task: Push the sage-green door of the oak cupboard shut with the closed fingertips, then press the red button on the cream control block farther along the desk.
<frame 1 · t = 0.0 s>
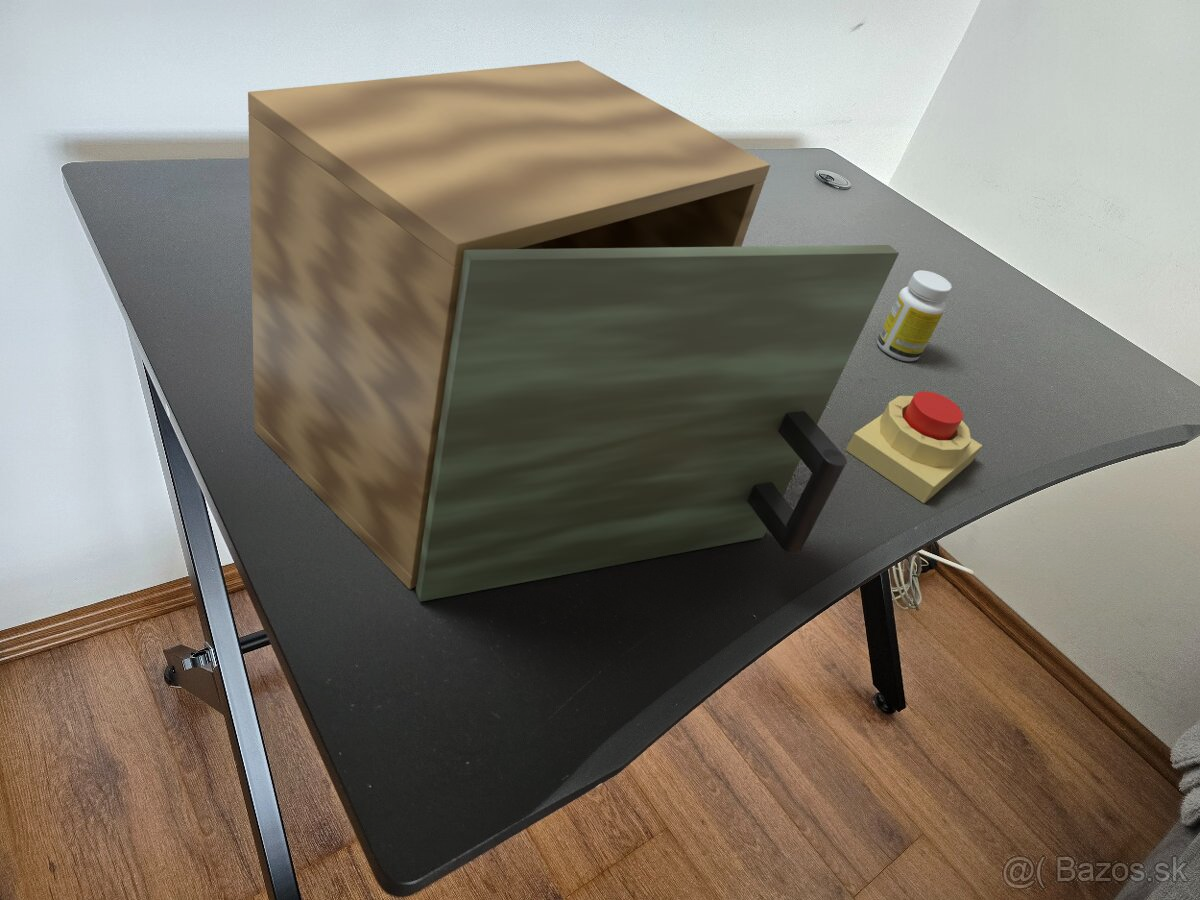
door: (668, 456, 54), point 12 cm above the table, hinge at 22.0°
button block: (909, 456, 81), on the table
cupboard: (476, 439, 70), on the table
supplement bottle: (896, 351, 96), on the table
book: (657, 310, 92), on the table
button: (933, 416, 79), point 5 cm above the table, slide at 0.1 cm
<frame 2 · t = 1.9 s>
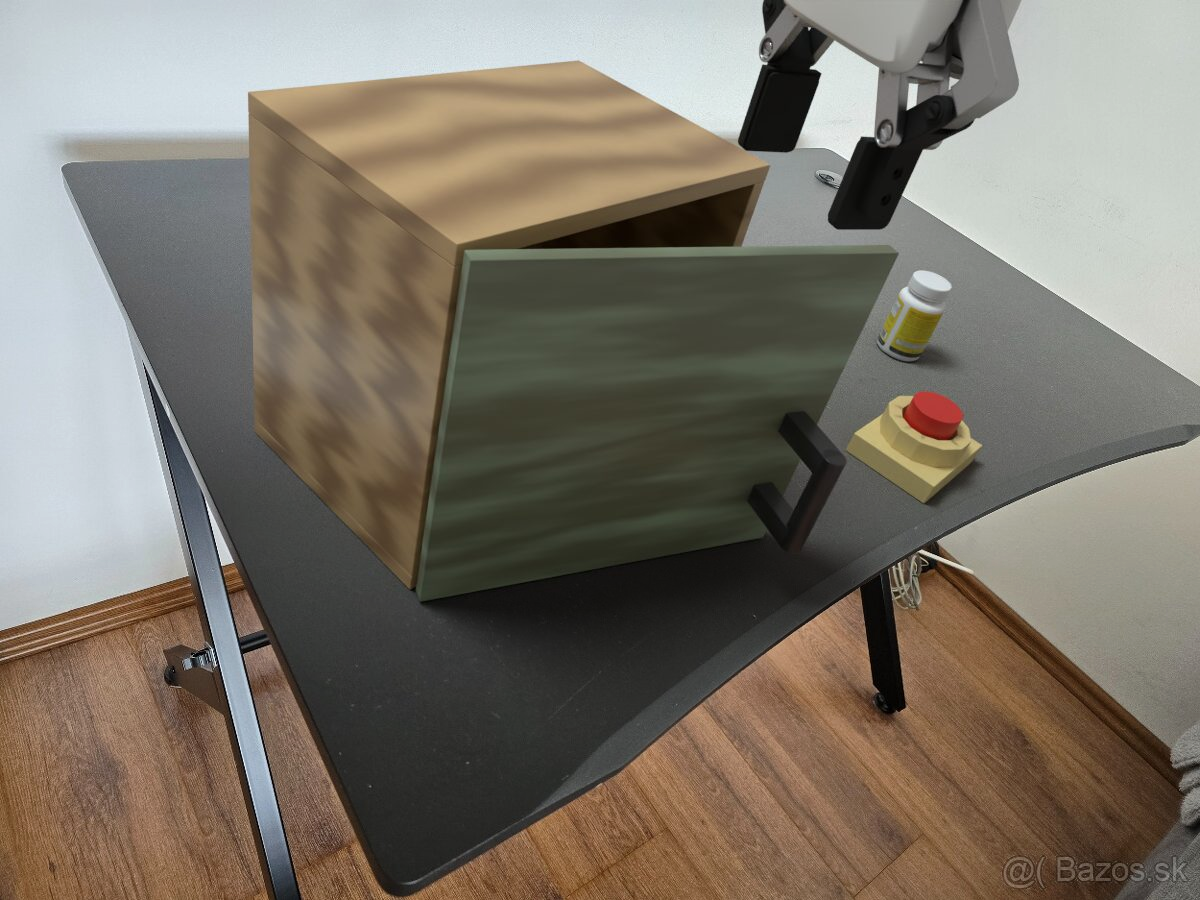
hand: (808, 183, 43), 30 cm above the table, tool pointing down, fingers open, 7 cm apart
nothing on the table moved.
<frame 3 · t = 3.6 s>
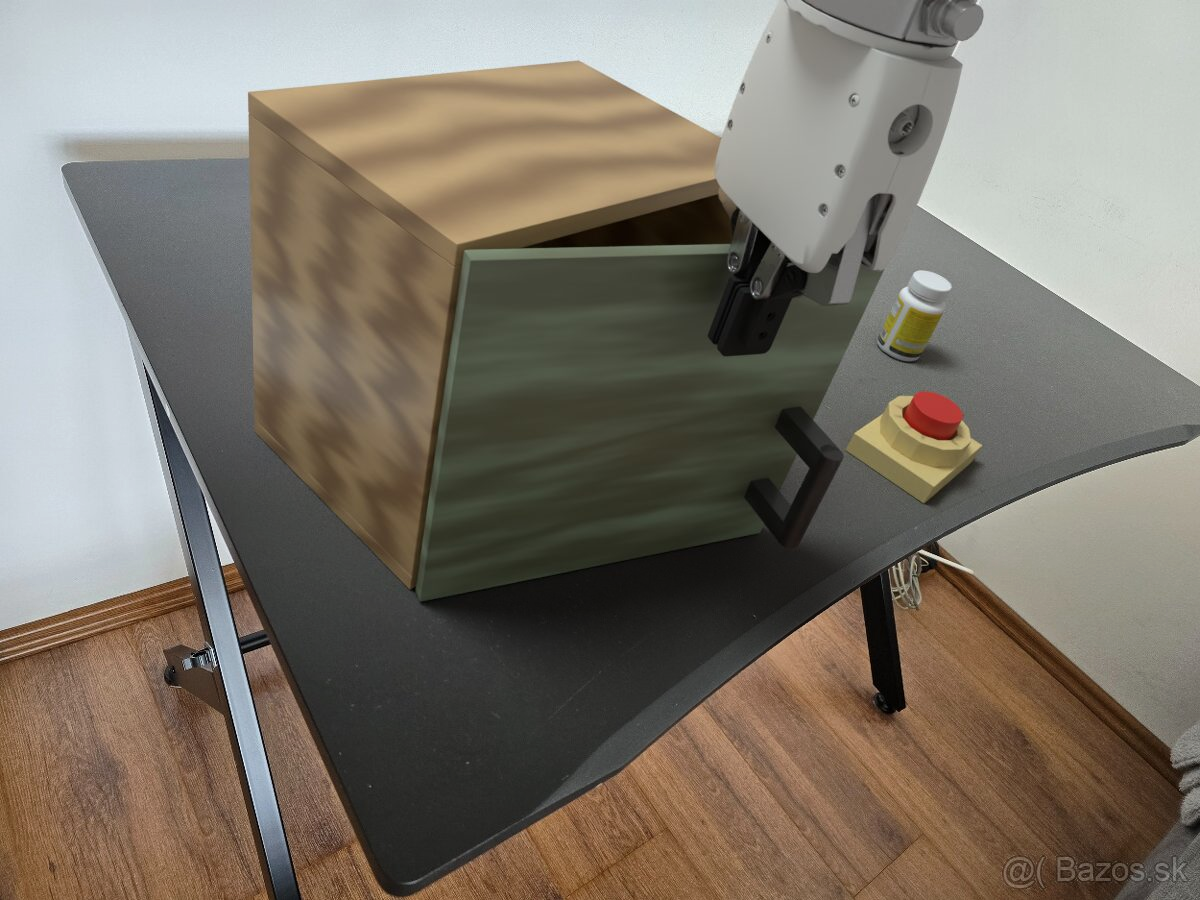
hand: (737, 345, 50), 20 cm above the table, tool pointing down, fingers closed
door: (667, 453, 54), point 12 cm above the table, hinge at 20.9°, touching gripper
everything else where it was.
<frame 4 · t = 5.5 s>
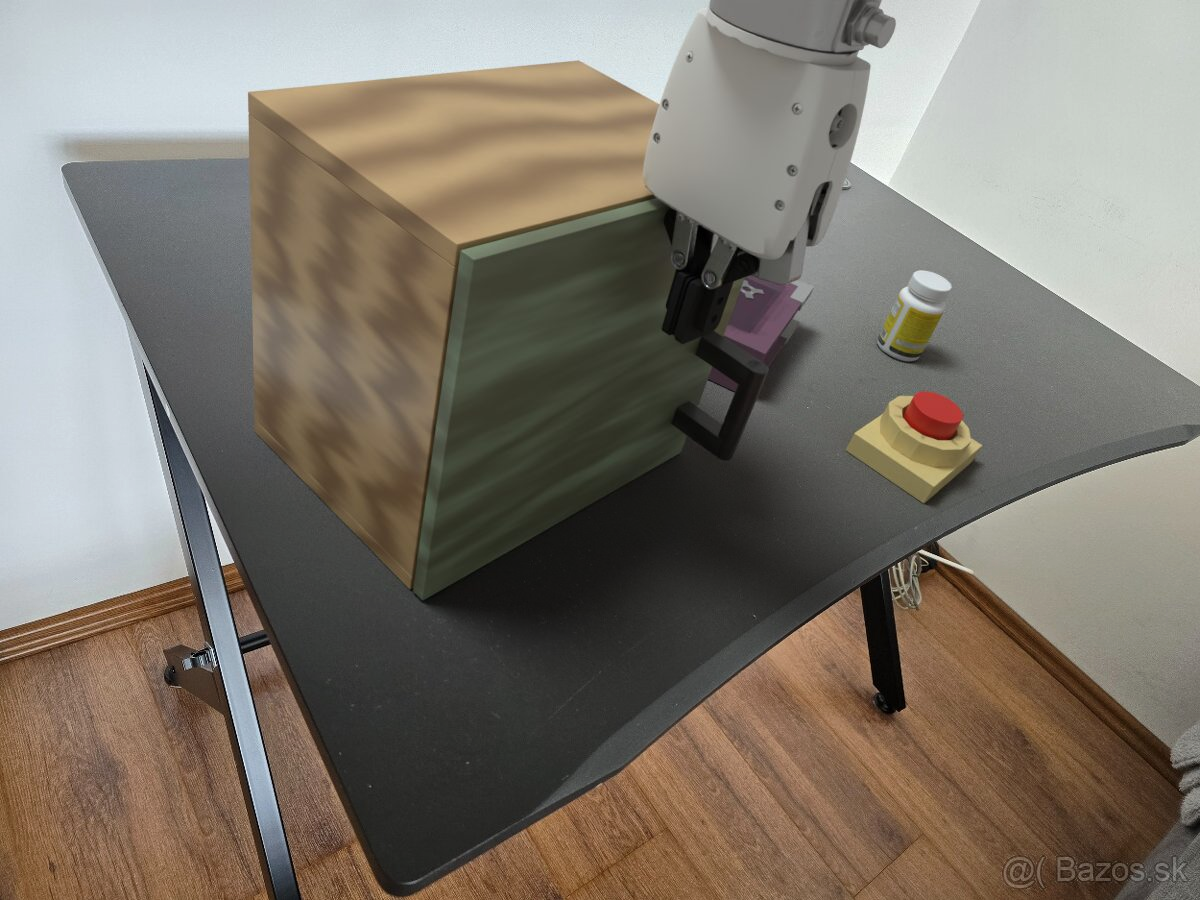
hand: (686, 331, 54), 18 cm above the table, tool pointing down, fingers closed
door: (631, 401, 57), point 12 cm above the table, hinge at -0.4°, touching gripper
everything else where it was.
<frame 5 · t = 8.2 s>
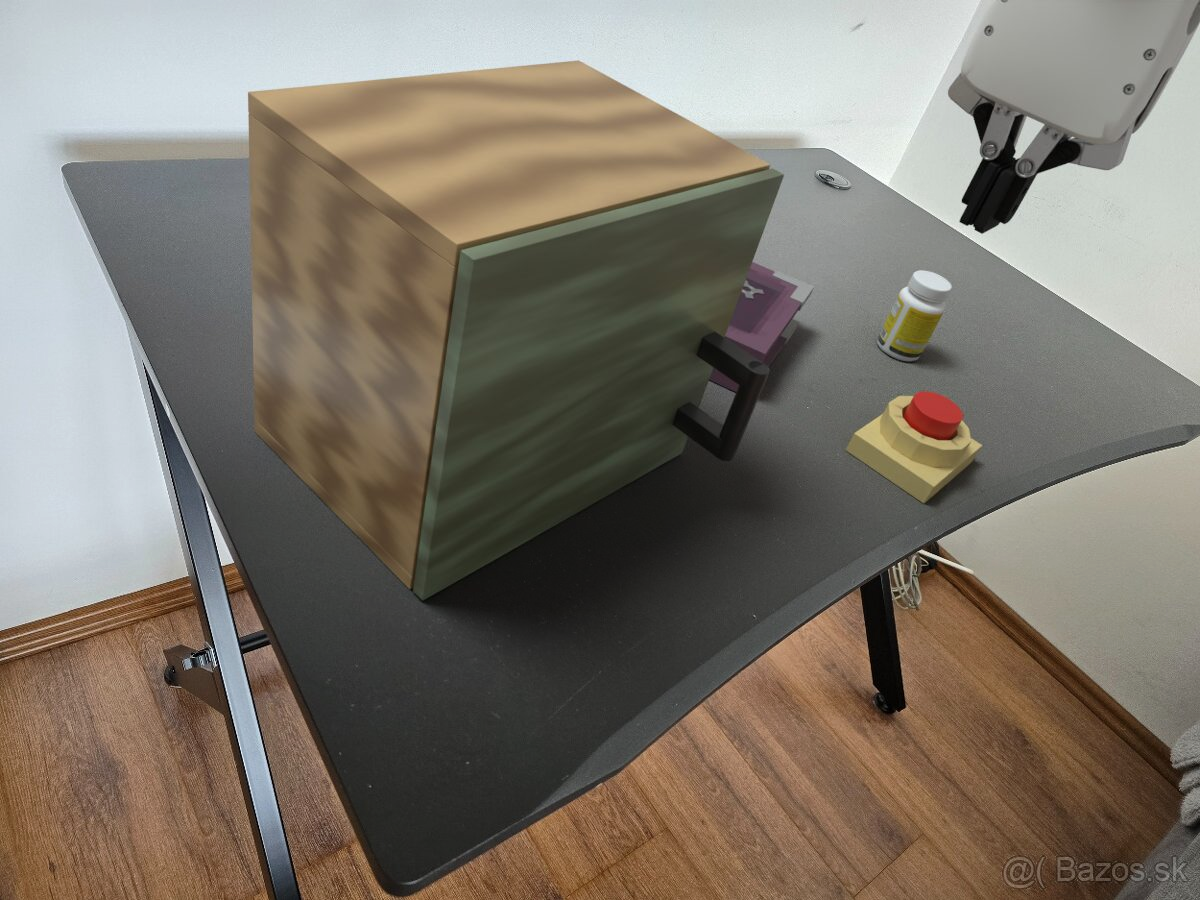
hand: (979, 223, 58), 25 cm above the table, tool pointing down, fingers closed
door: (631, 401, 57), point 12 cm above the table, hinge at -0.1°
everything else where it was.
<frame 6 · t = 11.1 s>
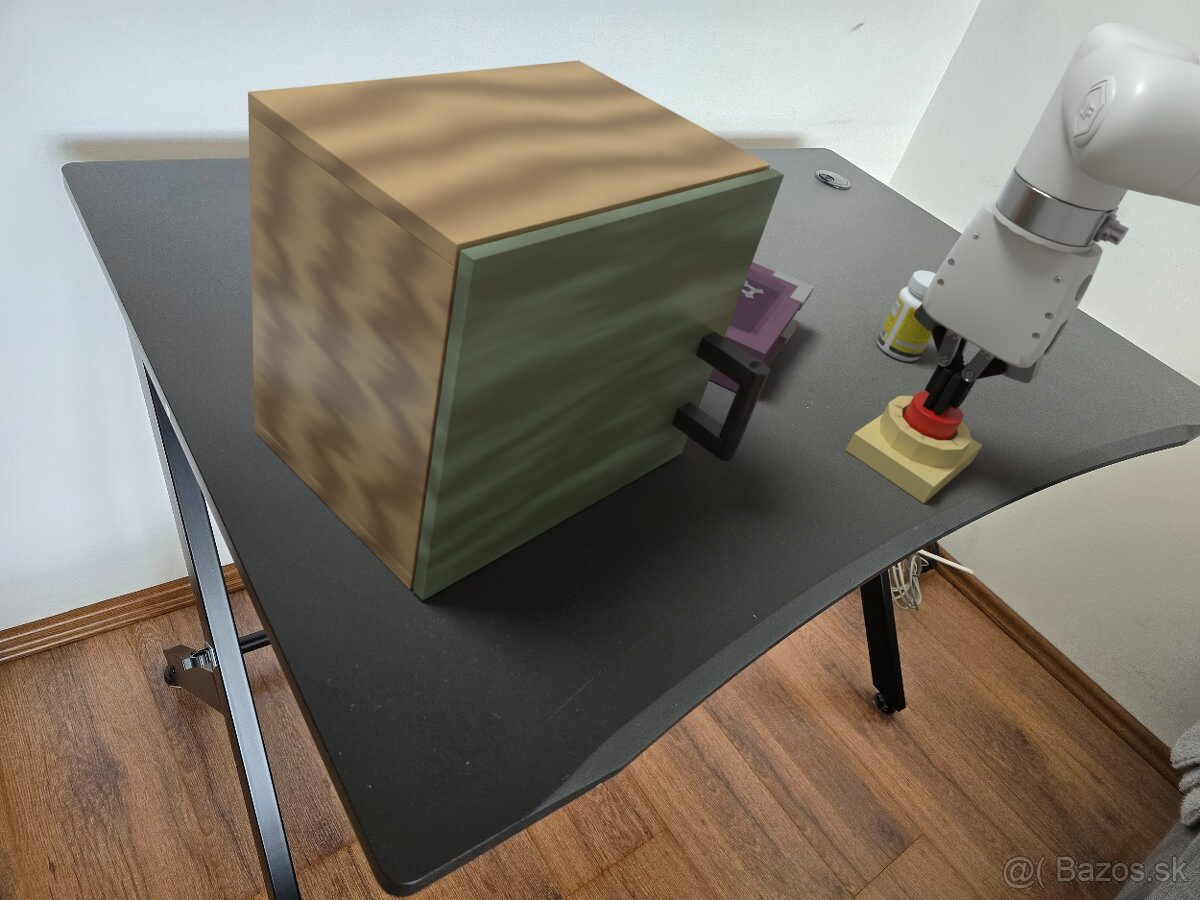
hand: (938, 405, 78), 6 cm above the table, tool pointing down, fingers closed
button: (933, 416, 79), point 5 cm above the table, slide at 0.1 cm, touching gripper
everything else where it was.
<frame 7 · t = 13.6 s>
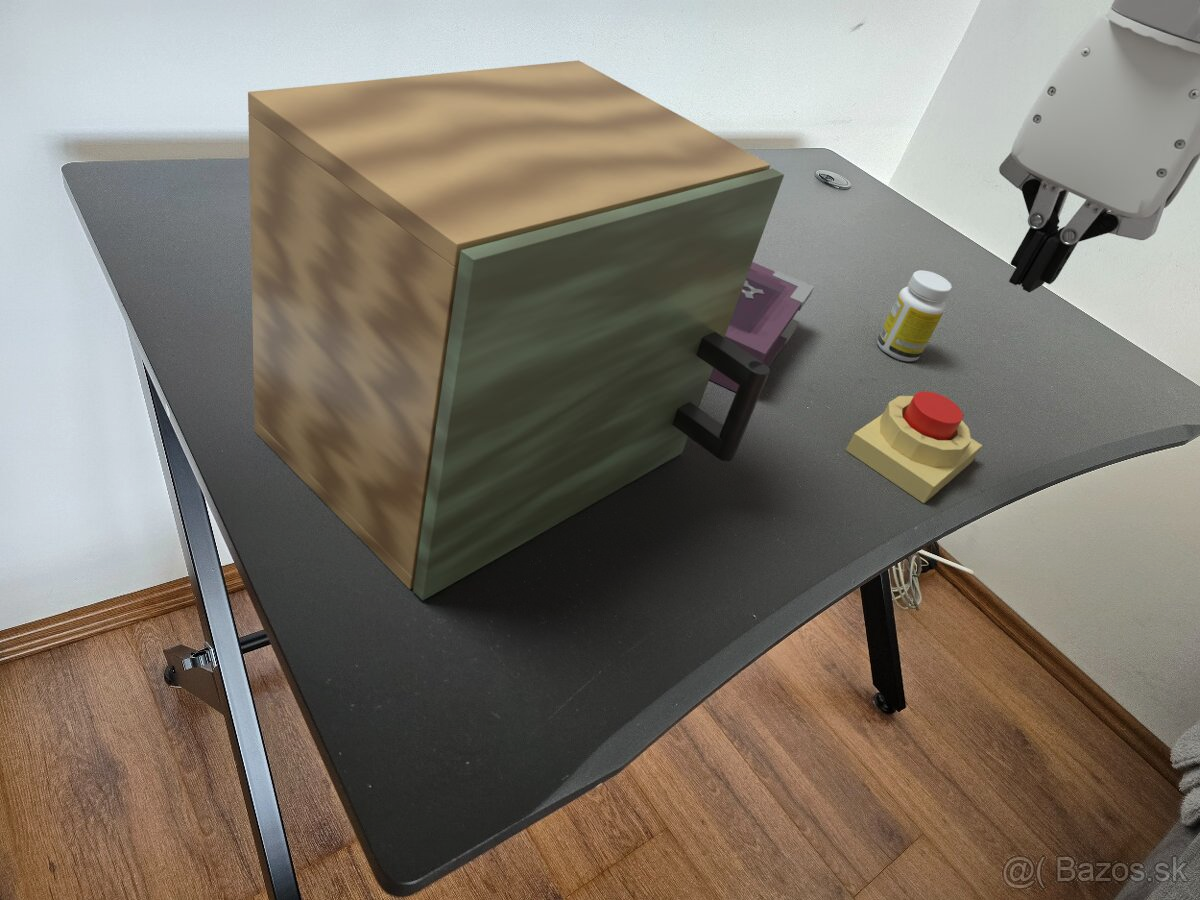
hand: (1026, 282, 65), 20 cm above the table, tool pointing down, fingers closed
button: (933, 416, 79), point 5 cm above the table, slide at 0.1 cm
everything else where it was.
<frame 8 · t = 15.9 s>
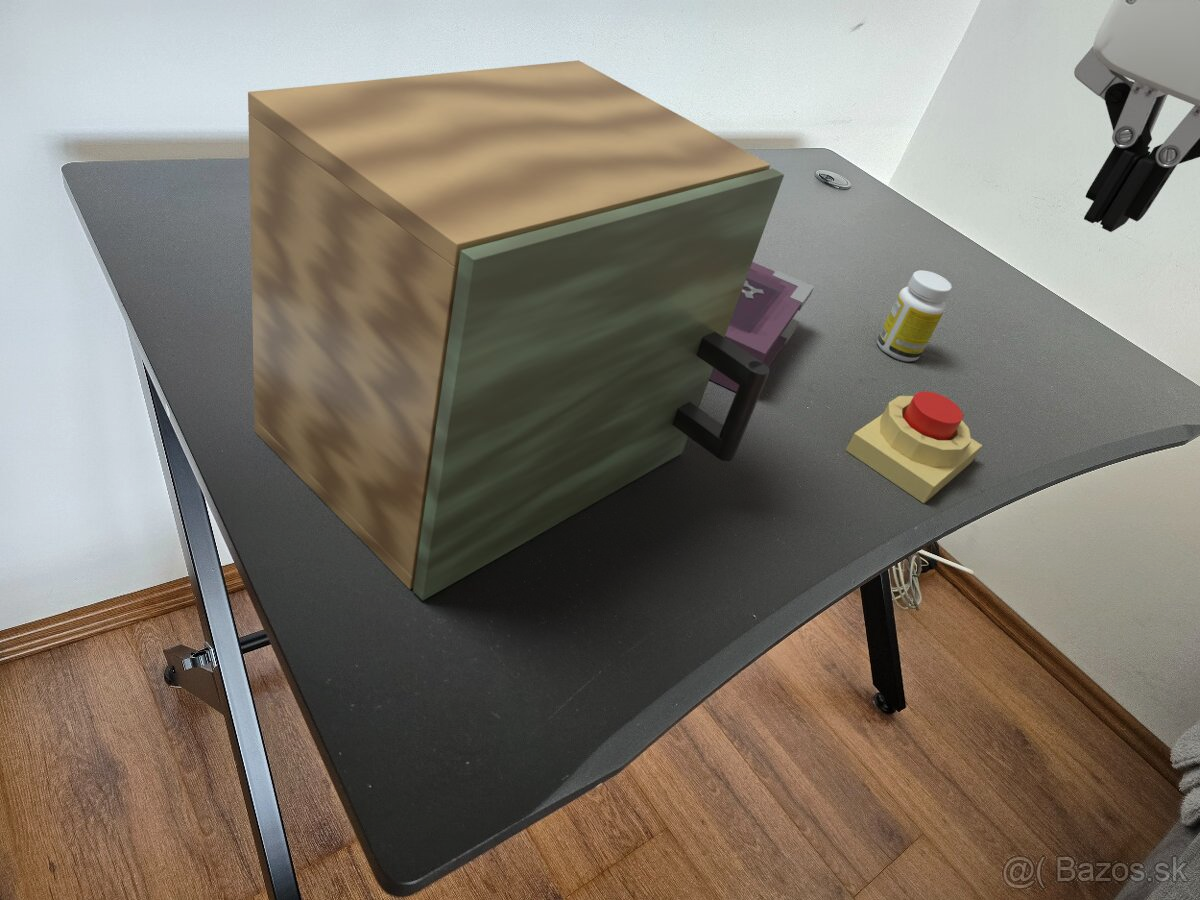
hand: (1105, 220, 51), 29 cm above the table, tool pointing down, fingers closed
nothing on the table moved.
at the end: door at +0° (first picture: +22°); button pushed in 1.3 cm at the most during the clip, back to where it started at the end; button slide at 0.1 cm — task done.
